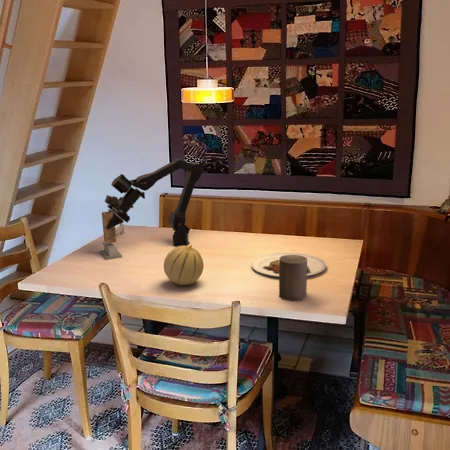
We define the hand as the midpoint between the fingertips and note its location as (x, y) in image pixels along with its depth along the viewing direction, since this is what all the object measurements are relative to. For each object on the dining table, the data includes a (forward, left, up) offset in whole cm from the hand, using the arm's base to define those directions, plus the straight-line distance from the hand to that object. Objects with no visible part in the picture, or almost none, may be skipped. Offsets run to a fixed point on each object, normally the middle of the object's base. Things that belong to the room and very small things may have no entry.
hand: (105, 227), depth 237 cm
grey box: (-1, -1, -13) cm, 13 cm away
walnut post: (-1, -1, -7) cm, 7 cm away
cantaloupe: (-43, +30, -13) cm, 54 cm away
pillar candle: (-84, +36, -13) cm, 92 cm away
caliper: (+8, -26, -13) cm, 30 cm away
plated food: (-80, +6, -13) cm, 81 cm away
